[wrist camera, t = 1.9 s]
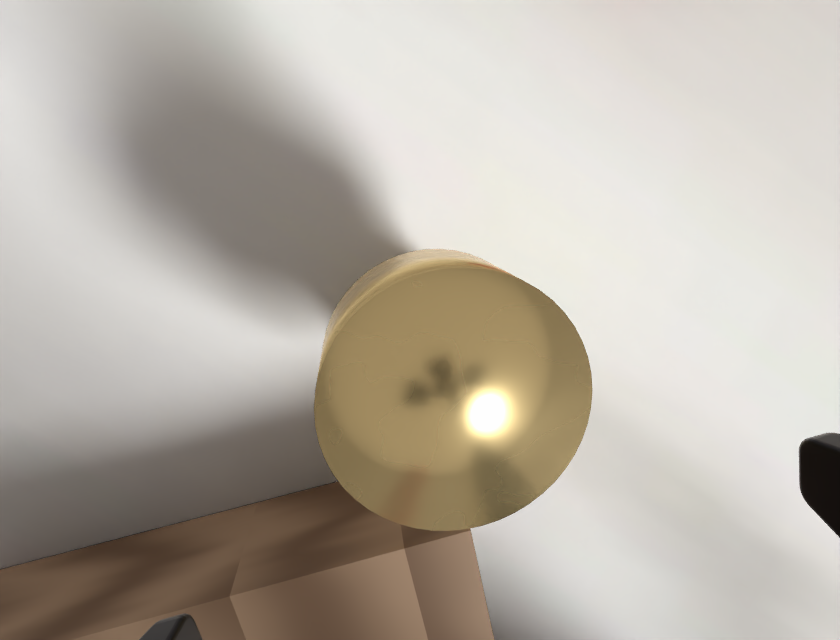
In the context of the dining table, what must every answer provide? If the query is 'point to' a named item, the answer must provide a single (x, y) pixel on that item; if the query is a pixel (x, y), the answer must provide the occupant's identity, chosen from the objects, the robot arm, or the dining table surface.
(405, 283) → the brass pin
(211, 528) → the brown rectangular block
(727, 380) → the dining table surface
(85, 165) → the dining table surface
